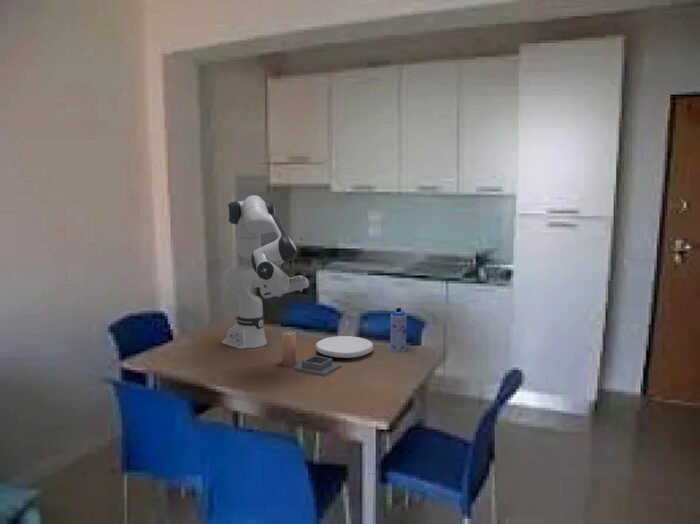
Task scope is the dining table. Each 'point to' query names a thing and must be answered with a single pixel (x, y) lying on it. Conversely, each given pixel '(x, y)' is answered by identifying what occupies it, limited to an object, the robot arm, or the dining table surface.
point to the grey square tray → (317, 366)
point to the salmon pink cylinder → (289, 348)
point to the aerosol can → (398, 331)
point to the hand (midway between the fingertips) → (290, 292)
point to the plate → (344, 346)
